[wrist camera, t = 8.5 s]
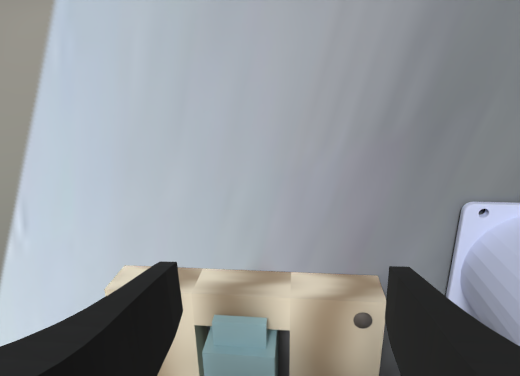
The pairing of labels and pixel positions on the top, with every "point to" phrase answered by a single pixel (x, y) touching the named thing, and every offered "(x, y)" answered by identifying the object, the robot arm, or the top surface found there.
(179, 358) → the plate
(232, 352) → the servo block
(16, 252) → the top surface
